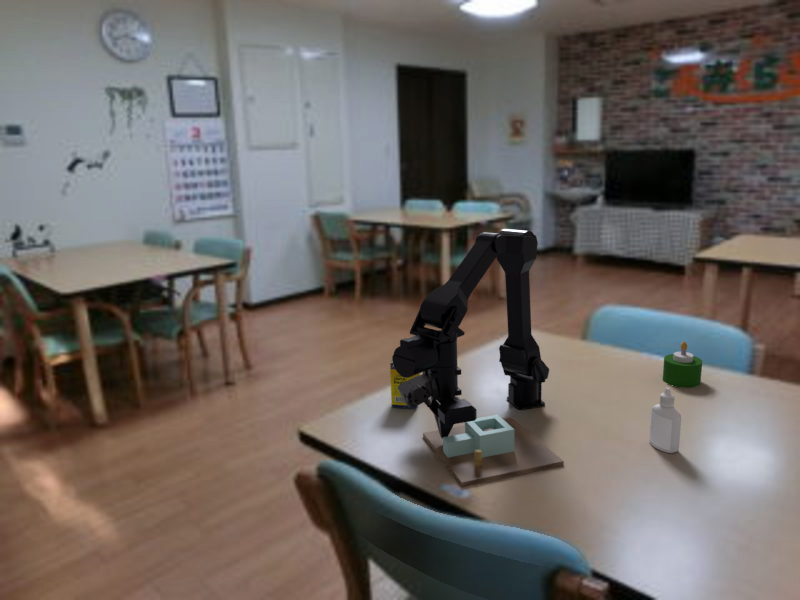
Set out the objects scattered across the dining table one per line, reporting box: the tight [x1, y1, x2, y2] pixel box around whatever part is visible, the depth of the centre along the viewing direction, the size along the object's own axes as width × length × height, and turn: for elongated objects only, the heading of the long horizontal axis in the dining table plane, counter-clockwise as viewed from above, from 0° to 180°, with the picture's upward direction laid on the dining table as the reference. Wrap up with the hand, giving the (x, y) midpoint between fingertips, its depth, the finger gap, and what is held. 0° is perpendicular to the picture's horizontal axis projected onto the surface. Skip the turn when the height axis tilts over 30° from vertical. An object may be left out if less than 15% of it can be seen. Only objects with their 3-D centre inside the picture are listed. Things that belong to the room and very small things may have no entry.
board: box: [422, 416, 565, 487], centre depth 118 cm, size 20×20×4 cm
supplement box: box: [389, 360, 421, 410], centre depth 140 cm, size 6×6×11 cm
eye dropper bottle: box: [648, 387, 682, 454], centre depth 115 cm, size 4×6×12 cm
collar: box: [443, 414, 514, 458], centre depth 117 cm, size 12×7×4 cm, turn 107°
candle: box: [662, 341, 703, 389], centre depth 146 cm, size 8×8×10 cm
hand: (443, 437), depth 120 cm, fingers closed
